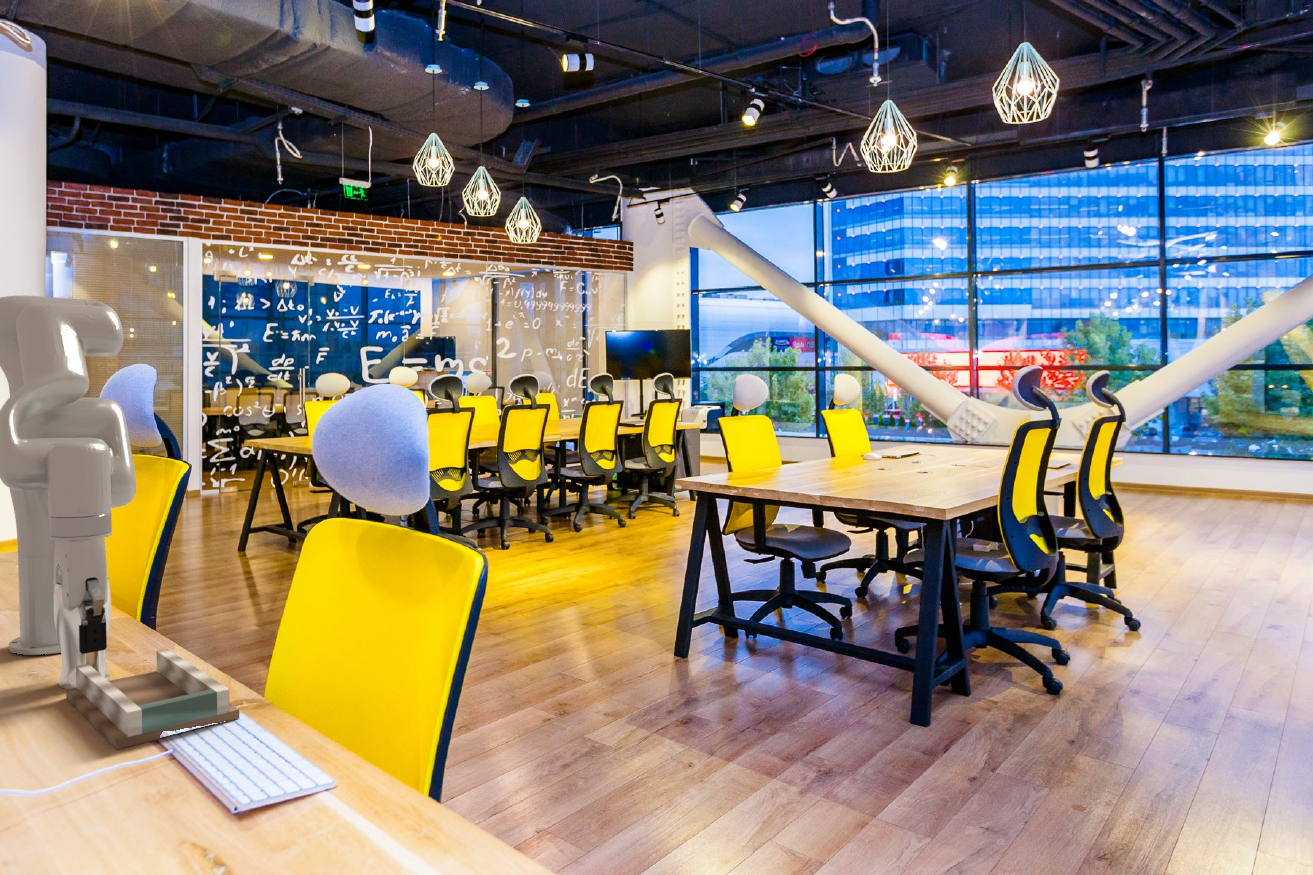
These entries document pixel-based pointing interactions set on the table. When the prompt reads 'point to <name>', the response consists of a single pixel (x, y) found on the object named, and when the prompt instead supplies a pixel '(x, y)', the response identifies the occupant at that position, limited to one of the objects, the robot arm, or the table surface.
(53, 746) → the table surface
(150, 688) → the track board
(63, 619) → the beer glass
